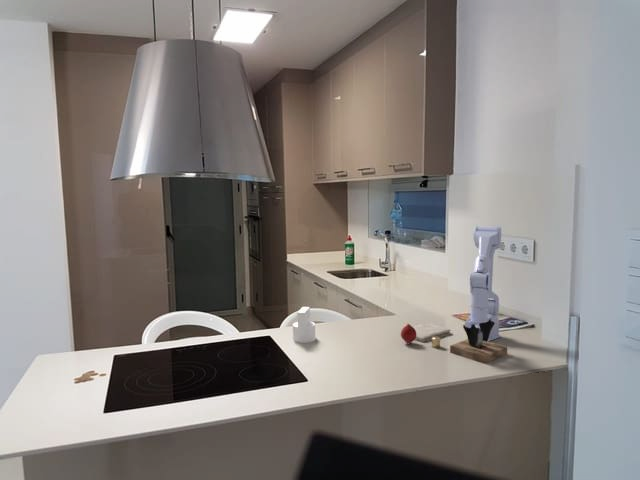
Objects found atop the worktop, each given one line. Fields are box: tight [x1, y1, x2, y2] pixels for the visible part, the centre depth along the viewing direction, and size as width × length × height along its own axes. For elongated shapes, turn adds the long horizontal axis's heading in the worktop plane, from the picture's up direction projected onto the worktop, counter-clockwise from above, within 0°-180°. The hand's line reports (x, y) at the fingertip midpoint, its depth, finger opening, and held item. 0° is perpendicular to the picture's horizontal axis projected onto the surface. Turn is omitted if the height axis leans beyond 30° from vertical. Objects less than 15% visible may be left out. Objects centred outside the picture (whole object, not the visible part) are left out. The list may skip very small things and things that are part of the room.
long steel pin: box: [474, 330, 483, 349], centre depth 160 cm, size 3×3×8 cm
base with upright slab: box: [292, 306, 316, 344], centre depth 179 cm, size 9×9×12 cm
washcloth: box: [411, 322, 451, 343], centre depth 182 cm, size 12×18×3 cm, turn 126°
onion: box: [400, 322, 416, 345], centre depth 171 cm, size 6×6×8 cm
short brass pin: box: [431, 337, 441, 349], centre depth 168 cm, size 3×3×4 cm
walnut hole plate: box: [449, 338, 508, 364], centre depth 160 cm, size 14×14×2 cm
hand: (478, 343), depth 160 cm, fingers open, 7 cm apart
